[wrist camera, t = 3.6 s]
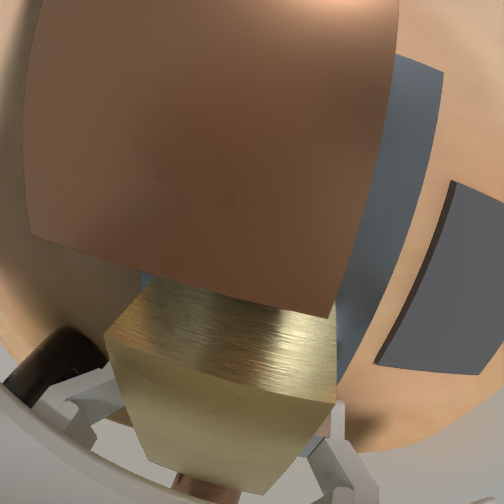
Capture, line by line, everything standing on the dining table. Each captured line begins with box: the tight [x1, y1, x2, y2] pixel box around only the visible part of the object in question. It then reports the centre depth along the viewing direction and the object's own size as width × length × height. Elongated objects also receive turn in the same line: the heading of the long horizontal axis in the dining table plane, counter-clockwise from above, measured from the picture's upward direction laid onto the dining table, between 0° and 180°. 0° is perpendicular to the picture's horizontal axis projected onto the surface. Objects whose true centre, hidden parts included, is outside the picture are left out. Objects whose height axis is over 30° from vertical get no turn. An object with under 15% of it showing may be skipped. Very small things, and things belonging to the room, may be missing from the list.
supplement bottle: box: [2, 327, 107, 409], centre depth 16 cm, size 7×7×12 cm
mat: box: [376, 180, 504, 375], centre depth 11 cm, size 10×8×1 cm
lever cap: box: [103, 276, 337, 495], centre depth 9 cm, size 8×5×4 cm, turn 172°
